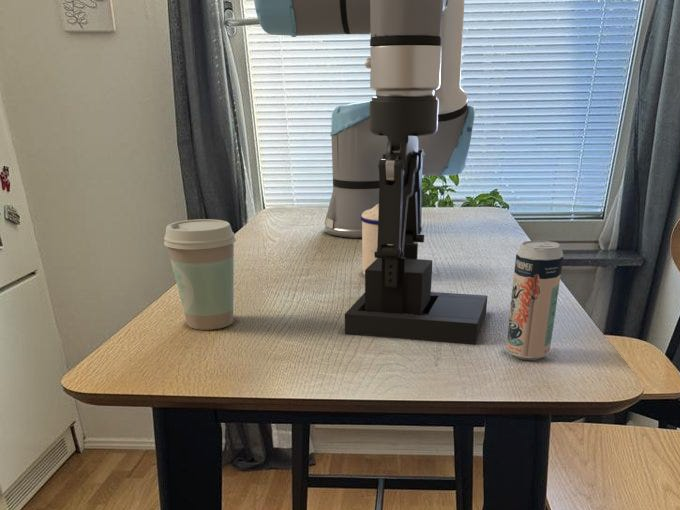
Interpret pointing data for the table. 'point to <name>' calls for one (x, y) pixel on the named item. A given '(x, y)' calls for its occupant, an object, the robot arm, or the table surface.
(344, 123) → the robot arm
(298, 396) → the table surface
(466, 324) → the black rectangular tray
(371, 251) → the teacup with lid
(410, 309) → the matte black cube
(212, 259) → the coffee cup
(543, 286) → the beer can
